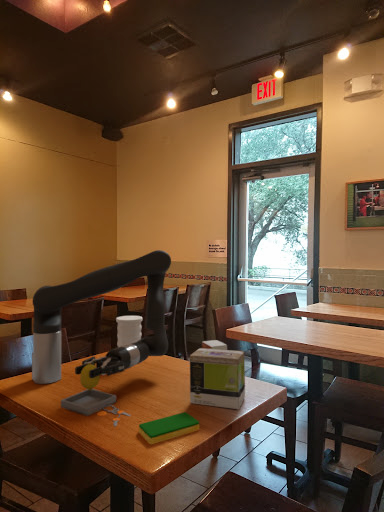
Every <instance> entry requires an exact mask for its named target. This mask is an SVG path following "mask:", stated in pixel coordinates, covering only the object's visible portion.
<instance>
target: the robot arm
mask: <svg viewBox="0 0 384 512" xmlns="http://www.w3.org/2000/svg"><path fill="white" fill-rule="evenodd" d="M171 262H172V258H171V256H170V254H169V253H168V252H166V251H164V250H161V249H160V250H159V249H158V250H157V249H156V250H153V251H151V252H149V253H147V254H146V253H145V254H144V255H142V256H140V257H137V258H135V259H131V260H126V261H124V262H121V263H120V262H119V263H117V264H113V265H109V266H106V267H102V268H99V269H96V270H94V271H90V272H88V273H87V274H84V275H82V276H80V277H78V278H76V279H73V280H72V281H69V282H66V283H61V284H57V285H44V286H40V287H39V288H38V289H37V290H36V291H35V293H33V296H32V306H33V323H32V333H33V335H32V338H33V339H32V340H33V341H32V342H33V343H32V345H33V346H32V347H33V350H32V351H33V352H32V353H31V371H32V372H31V380H33V383H35V384H37V385H38V384H39V385H43V384H52V383H55V382H58V381H60V380H62V308H64V307H66V306H69V305H71V304H73V303H76V302H79V301H83V300H87V299H91V298H95V297H99V296H102V295H105V294H107V293H111V292H114V291H116V290H119V289H120V288H123V287H125V286H127V285H128V284H130V283H132V282H134V281H135V280H138V279H140V278H143V277H146V281H147V282H146V283H147V295H146V311H145V328H146V329H147V330H149V331H153V335H154V336H145V337H141V339H140V340H139V341H137V342H135V343H132V344H129V345H124V346H121V347H118V346H117V347H115V348H112V349H109V350H108V351H107V353H106V354H105V356H100V357H98V358H96V356H92V357H89V358H85V359H84V360H82V361H81V364H80V365H77V366H76V367H75V368H74V373H75V375H81V371H82V369H83V368H84V367H85V366H86V365H88V364H92V365H94V366H96V367H97V368H95V369H92V370H90V371H89V377H90V378H94V377H96V376H99V375H100V376H105V375H106V376H107V377H109V376H112V375H115V374H119V373H122V372H125V370H128V369H131V368H132V367H135V366H136V365H138V364H141V363H143V362H145V361H146V360H147V359H148V358H149V357H162V356H165V354H167V352H168V350H169V341H168V340H169V339H168V336H167V332H166V327H165V326H166V325H165V319H166V318H165V317H166V316H165V313H166V305H165V304H166V303H165V297H164V286H165V285H164V283H165V277H166V273H167V272H168V270H169V269H170V267H171V264H172V263H171ZM142 361H143V362H142ZM140 362H141V363H140Z"/></svg>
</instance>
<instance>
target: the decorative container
mask: <svg viewBox="0 0 384 512" xmlns="http://www.w3.org/2000/svg"><path fill="white" fill-rule="evenodd" d="M142 321H143V317H142V315H141V316H140V315H122V316H117V317H116V321H115V322H116V323H117V326H116V328H117V333H116V334H117V335H116V338H117V342H116V345H117V348H118V347H121V346H124V345H129V344H132V343H135V342H137V341H139V340H140V339H142V327H143V326H142ZM143 362H144V361H142V362H140V363H139V364H141V363H143Z"/></svg>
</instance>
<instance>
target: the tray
mask: <svg viewBox="0 0 384 512" xmlns="http://www.w3.org/2000/svg"><path fill="white" fill-rule="evenodd" d="M115 403H117V395H116V394H112V393H107V392H106V391H105V392H104V391H101V390H98V389H95V388H93V389H92V390H88V389H85V390H83V391H80V392H78V393H75V394H73V395H70V396H68V397H65V398H63V399H61V400H60V407H61V408H63V409H64V410H65V409H66V410H67V411H71V412H75V413H77V414H81V415H83V416H85V417H89V416H91V415H93V414H95V413H98V412H100V411H101V410H103V409H102V408H104V409H106V408H108V407H110V406H109V405H113V404H115ZM107 406H108V407H107Z"/></svg>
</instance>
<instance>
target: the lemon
mask: <svg viewBox="0 0 384 512" xmlns="http://www.w3.org/2000/svg"><path fill="white" fill-rule="evenodd" d="M95 368H97V367H96V365H95V366H94V365H92V364H88V365H86V366H85V367H84V368H83V369H82V371H81V374H79V376H80V377H79V378H80V380H79V381H80V384H81V386H82V387H83V388H84V389H85V390H87V389H88V390H92V389H95V388H96V387H97V386H98V384H99V382H100V378H101V377H100V376H101V375H99V376H96V377H94V378H90V377H89V371H90V370H92V369H95Z"/></svg>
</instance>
